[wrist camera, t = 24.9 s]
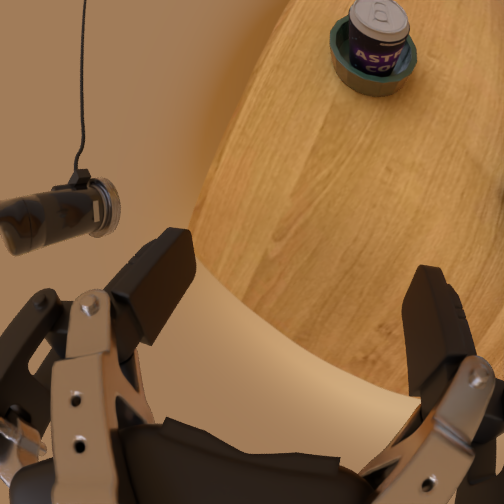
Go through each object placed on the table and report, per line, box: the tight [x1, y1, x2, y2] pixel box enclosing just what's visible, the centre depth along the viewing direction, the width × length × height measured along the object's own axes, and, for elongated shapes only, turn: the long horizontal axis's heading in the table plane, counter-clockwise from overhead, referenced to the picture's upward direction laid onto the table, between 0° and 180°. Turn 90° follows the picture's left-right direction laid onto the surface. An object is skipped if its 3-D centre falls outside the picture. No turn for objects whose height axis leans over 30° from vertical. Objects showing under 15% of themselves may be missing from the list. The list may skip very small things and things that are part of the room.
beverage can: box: [349, 0, 410, 77], centre depth 19 cm, size 6×6×12 cm
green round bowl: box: [330, 15, 417, 97], centre depth 22 cm, size 10×10×6 cm
